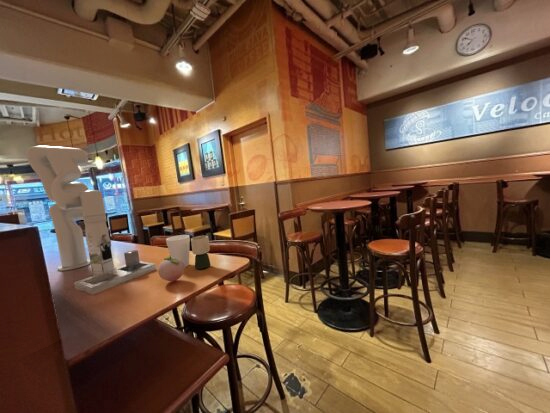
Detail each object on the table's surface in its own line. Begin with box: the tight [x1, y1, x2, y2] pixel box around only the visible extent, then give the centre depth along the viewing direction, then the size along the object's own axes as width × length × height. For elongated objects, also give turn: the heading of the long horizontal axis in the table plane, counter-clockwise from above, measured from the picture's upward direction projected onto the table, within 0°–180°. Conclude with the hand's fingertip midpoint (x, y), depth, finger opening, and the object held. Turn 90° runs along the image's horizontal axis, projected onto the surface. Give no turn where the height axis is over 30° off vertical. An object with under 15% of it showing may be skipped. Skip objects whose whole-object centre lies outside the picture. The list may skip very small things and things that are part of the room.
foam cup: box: [165, 234, 191, 268], centre depth 99 cm, size 10×9×13 cm
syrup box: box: [86, 243, 115, 276], centre depth 98 cm, size 6×6×14 cm
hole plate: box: [73, 249, 157, 295], centre depth 91 cm, size 13×24×9 cm, turn 152°
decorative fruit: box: [157, 255, 185, 283], centre depth 83 cm, size 9×8×10 cm
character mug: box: [190, 235, 211, 270], centre depth 96 cm, size 11×7×13 cm, turn 55°
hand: (101, 258), depth 98 cm, fingers open, 9 cm apart
